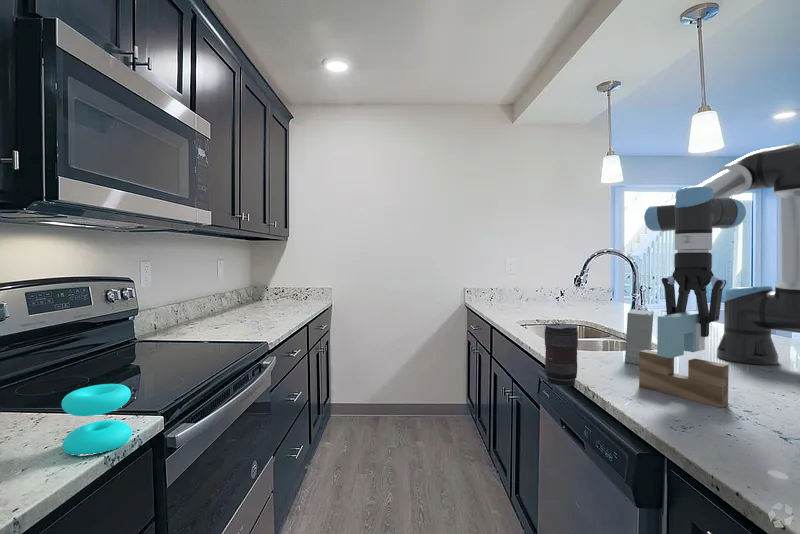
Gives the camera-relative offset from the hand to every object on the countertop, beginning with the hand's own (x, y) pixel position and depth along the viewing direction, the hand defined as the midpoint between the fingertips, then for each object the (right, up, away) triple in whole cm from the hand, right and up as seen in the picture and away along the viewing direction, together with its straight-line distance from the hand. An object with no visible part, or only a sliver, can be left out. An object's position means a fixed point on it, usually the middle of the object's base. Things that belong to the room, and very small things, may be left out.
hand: (691, 348), depth 105 cm
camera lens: (-29, -11, +8) cm, 32 cm away
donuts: (-124, -12, -29) cm, 128 cm away
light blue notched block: (-4, 0, -3) cm, 5 cm away
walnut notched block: (-4, -11, -2) cm, 12 cm away
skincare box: (+4, -10, +30) cm, 32 cm away
